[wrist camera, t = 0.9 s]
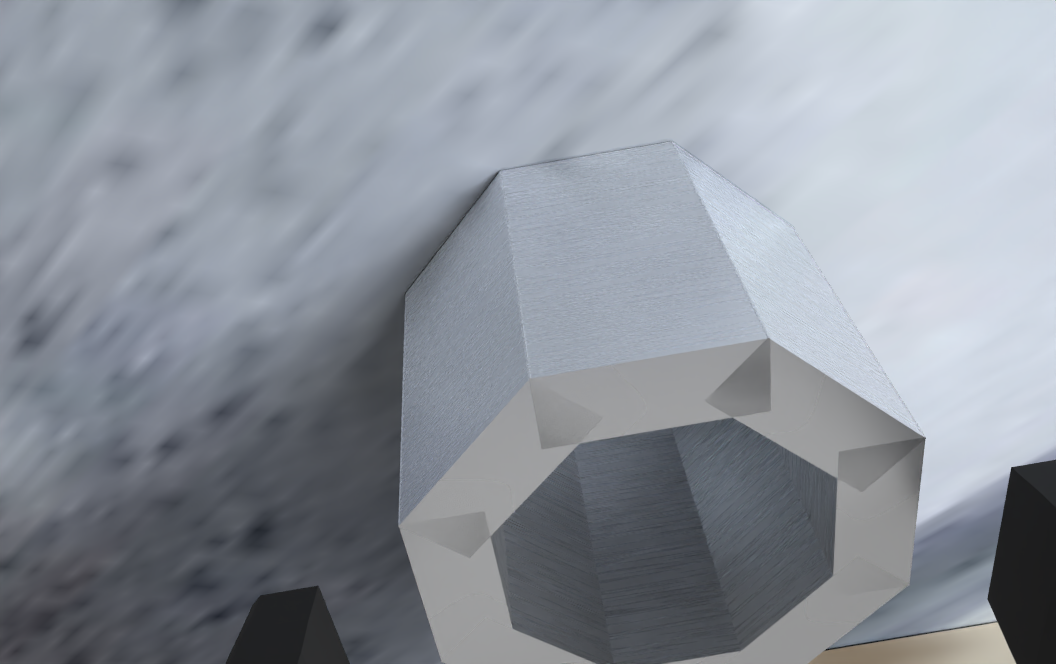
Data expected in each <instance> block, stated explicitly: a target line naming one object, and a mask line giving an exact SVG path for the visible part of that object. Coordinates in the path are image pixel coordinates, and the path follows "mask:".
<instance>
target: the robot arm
mask: <svg viewBox="0 0 1056 664" xmlns="http://www.w3.org/2000/svg"><path fill="white" fill-rule="evenodd" d="M988 601H989V603H990V606H991V608H992V610H993V612H994V615H995V617H996V619H997V622H998V624H999V626H1000V629H1001V631H1002V633H1003V635H1004V638H1005V640H1006V642H1007V645H1008V647H1009V649H1010V651H1011V653H1012V656H1013V658H1014V660H1015V662H1016V664H1056V460H1052V461H1046V462H1040V463H1034V464H1028V465H1023V466H1017V467H1011V472H1010V478H1009V483H1008V489H1007V494H1006V500H1005V505H1004V511H1003V517H1002V522H1001V528H1000V533H999V539H998V544H997V550H996V555H995V561H994V566H993V572H992V577H991V583H990V588H989V594H988ZM226 664H350V663H349V661H348V658H347V656H346V653H345V651H344V648H343V646H342V643H341V641H340V638H339V636H338V633H337V631H336V628H335V626H334V623H333V621H332V618H331V616H330V614H329V611H328V609H327V606H326V604H325V601H324V599H323V596H322V594H321V591H320V589H319V586H314V587H308V588H302V589H296V590H290V591H285V592H279V593H273V594H267V595H261V596H260V597H259V598H258V599H257V601H256V602H255V603H254V604H253V606H252V608H251V610H250V612H249V615H248V617H247V619H246V621H245V623H244V625H243V628H242V630H241V632H240V634H239V636H238V638H237V640H236V642H235V645H234V647H233V649H232V651H231V653H230V655H229V657H228V659H227V661H226Z"/></svg>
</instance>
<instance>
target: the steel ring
mask: <svg viewBox="0 0 1056 664" xmlns="http://www.w3.org/2000/svg"><path fill="white" fill-rule="evenodd" d="M925 439H926V438H925V436H924V434H923V432H922V431H921V429H920V428H919V426H918V424H917V423H916V421H915V420H914V418H913V416H912V415H911V413H910V412H909V410H908V408H907V407H906V405H905V404H904V402H903V401H902V399H901V397H900V396H899V394H898V393H897V391H896V389H895V388H894V386H893V385H892V383H891V381H890V380H889V378H888V377H887V375H886V373H885V372H884V370H883V369H882V367H881V365H880V364H879V362H878V361H877V359H876V357H875V356H874V354H873V353H872V351H871V350H870V348H869V346H868V345H867V343H866V342H865V340H864V338H863V337H862V335H861V334H860V332H859V330H858V329H857V327H856V326H855V324H854V322H853V321H852V319H851V318H850V316H849V314H848V313H847V311H846V310H845V308H844V306H843V305H842V303H841V302H840V300H839V298H838V297H837V295H836V294H835V292H834V291H833V289H832V287H831V286H830V284H829V283H828V281H827V279H826V278H825V276H824V275H823V273H822V271H821V270H820V268H819V267H818V265H817V263H816V262H815V260H814V259H813V257H812V255H811V254H810V252H809V251H808V249H807V247H806V246H805V244H804V243H803V241H802V239H801V238H800V236H799V235H798V233H797V232H796V230H795V228H794V227H792V226H791V225H789V224H788V223H787V222H785V221H784V220H782V219H781V218H780V217H778V216H777V215H775V214H774V213H773V212H771V211H770V210H768V209H767V208H765V207H764V206H763V205H761V204H760V203H758V202H757V201H756V200H754V199H753V198H751V197H750V196H749V195H747V194H746V193H744V192H743V191H741V190H740V189H739V188H737V187H736V186H734V185H733V184H732V183H730V182H729V181H727V180H726V179H725V178H723V177H722V176H720V175H719V174H718V173H716V172H715V171H713V170H712V169H710V168H709V167H708V166H706V165H705V164H703V163H702V162H701V161H699V160H698V159H696V158H695V157H694V156H692V155H691V154H689V153H688V152H687V151H685V150H684V149H682V148H681V147H679V146H678V145H677V144H675V143H674V142H673V141H671V142H665V143H659V144H653V145H647V146H642V147H636V148H630V149H624V150H618V151H613V152H607V153H601V154H595V155H589V156H584V157H578V158H572V159H566V160H560V161H554V162H549V163H543V164H537V165H531V166H525V167H520V168H514V169H508V170H502V171H500V172H499V173H498V174H497V176H496V177H495V178H494V180H493V181H492V182H491V184H490V185H489V186H488V187H487V189H486V190H485V191H484V193H483V194H482V195H481V197H480V198H479V199H478V200H477V202H476V203H475V204H474V206H473V207H472V208H471V209H470V211H469V212H468V213H467V215H466V216H465V217H464V219H463V220H462V221H461V222H460V224H459V225H458V226H457V228H456V229H455V230H454V232H453V233H452V234H451V235H450V237H449V238H448V239H447V241H446V242H445V243H444V245H443V246H442V247H441V248H440V250H439V251H438V252H437V254H436V255H435V256H434V257H433V259H432V260H431V261H430V263H429V264H428V265H427V267H426V268H425V269H424V270H423V272H422V273H421V274H420V276H419V277H418V278H417V280H416V281H415V282H414V283H413V285H412V286H411V287H410V289H409V290H408V291H407V292H406V294H405V321H404V354H403V386H402V419H401V452H400V484H399V517H398V527H399V528H400V532H401V535H402V538H403V541H404V544H405V547H406V551H407V554H408V557H409V560H410V563H411V566H412V570H413V573H414V576H415V579H416V582H417V585H418V589H419V592H420V595H421V598H422V601H423V605H424V608H425V611H426V614H427V617H428V620H429V624H430V627H431V630H432V633H433V636H434V639H435V643H436V646H437V649H438V652H439V655H440V658H441V662H443V663H446V664H808V663H809V662H810V661H812V660H813V659H814V658H815V657H817V656H818V655H819V654H821V653H822V652H823V651H825V650H826V649H827V648H828V647H830V646H831V645H832V644H834V643H835V642H836V641H837V640H839V639H840V638H841V637H843V636H844V635H845V634H846V633H848V632H849V631H850V630H852V629H853V628H854V627H855V626H857V625H858V624H859V623H861V622H862V621H863V620H864V619H866V618H867V617H868V616H870V615H871V614H872V613H873V612H875V611H876V610H877V609H879V608H880V607H881V606H882V605H884V604H885V603H886V602H888V601H889V600H890V599H891V598H893V597H894V596H895V595H897V594H898V593H899V592H901V591H902V590H903V589H904V588H906V587H907V586H908V585H910V574H911V564H912V555H913V546H914V537H915V528H916V519H917V510H918V501H919V491H920V482H921V473H922V464H923V455H924V446H925Z"/></svg>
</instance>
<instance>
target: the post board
mask: <svg viewBox="0 0 1056 664" xmlns="http://www.w3.org/2000/svg"><path fill="white" fill-rule="evenodd" d="M808 664H1016V662H1015V660H1014V658H1013V656H1012V653H1011V651H1010V649H1009V647H1008V645H1007V642H1006V640H1005V638H1004V635H1003V633H1002V631H1001V629H1000V626H999V624H998V622H997V623H991V624H985V625H979V626H973V627H966V628H960V629H954V630H948V631H942V632H936V633H930V634H924V635H918V636H912V637H906V638H900V639H893V640H887V641H881V642H875V643H869V644H863V645H857V646H851V647H845V648H839V649H833V650H826V651H823V652H822V653H821V654H819V655H818V656H817V657H815V658H814V659H813V660H812V661H810V662H809V663H808Z"/></svg>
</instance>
